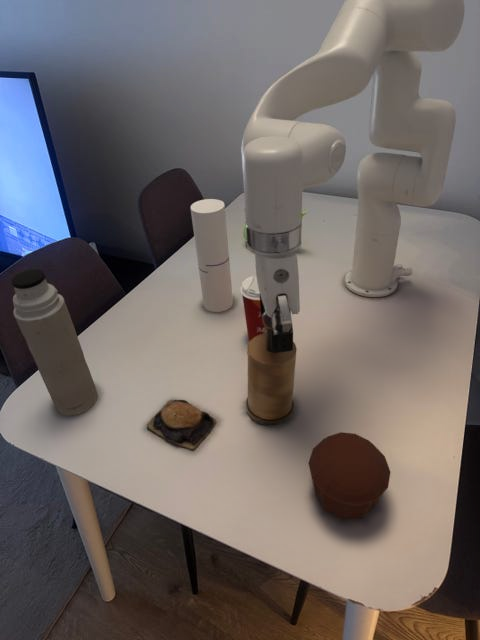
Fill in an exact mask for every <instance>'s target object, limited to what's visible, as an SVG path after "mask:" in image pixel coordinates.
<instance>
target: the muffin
mask: <svg viewBox="0 0 480 640" xmlns="http://www.w3.org/2000/svg"><path fill="white" fill-rule="evenodd" d="M308 468H309V472H310V473H309V474H310V477H311V480H312V485H313V489H314V494H315V497H316V498H317V499H318V501H319V502H320V504H321V506H322V508H323V510H324V512H325V513H327V514H330V515H332V516H334V517H337V518H338V519H339V520H341V521H347V520H362V519H363V518H364V517H365V516H366V515H367V513H368V512H370V511H371V510H372V509H373V508H375V506H376V505H377V503H378V501H379V499H380V498H381V496H382V495H383V494H384V493H385V492H386V491H387V489H388V488H389V484H390V477H391V470H390V469H391V468H390V467H389V464H388V461H387V459H386V456H385V455H384V454H383V452H382V451H380V449H379V448H378V447H376V446H375V444H374V443H372V442H371V441H370V439H367V438H365V437H363V436H361V435H359V434H356V433H351V432H337V433H334V434H330V435H327V436H326V437H325V438H323V439H322V440H321V441H319V442H318V443H317V444H316V445H315V446H314V447H313V448H312V450H311V453H310V456H309V460H308Z"/></svg>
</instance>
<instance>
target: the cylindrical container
mask: <svg viewBox="0 0 480 640" xmlns="http://www.w3.org/2000/svg"><path fill="white" fill-rule="evenodd" d="M190 214H191V221H192V230H193V237H194V245H195V252H196V258H197V268H198V274H199V282H200V290H201V296H202V297H201V298H202V304H203V307H204V309H205V310H206V311H208V312H210V313H211V312H212V313H223V312H225V311H228V310H229V309H231V308H232V307H233V304H234V298H233V297H234V296H233V286H232V277H231V276H232V274H231V263H230V253H229V239H228V228H227V227H228V226H227V217H226V205H225V202H224V201H223V200H220V199H216V198H204V199H201V200H197V201H195V202H193V203H191V205H190Z"/></svg>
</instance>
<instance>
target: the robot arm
mask: <svg viewBox="0 0 480 640" xmlns="http://www.w3.org/2000/svg"><path fill="white" fill-rule="evenodd" d="M464 18H465V0H344V2H343V4H342V5H341V7H340V10H339V12H338V13H337V14H336V17H335V19H334V21H333V23H332V24H331V27H330V29H329V31H328V33H327V34H326V37H325V38H324V40H323V42H322V43H321V46H320V48H319V49H318V51H317V53H316V54H314V55H313V56H311V57H309V58H307V59H306V60H304V61H303V62H301V63H299V64H298V65H296V66H295V67H294V68H292V69H291V70H290V71H288V72H287V73H286V74H284V75H283V76H281V77H280V78H279V79H277V80H276V81H275V82H273V83H272V84H271V85H270V87H268V89H266V91H265V92H264V94H262V96H261V98H260V99H259V100H258V103H257V105H256V107H255V108H254V110H253V111H252V113H251V116H250V117H249V120H248V122H247V124H246V126H245V129H244V131H243V135H242V139H241V144H240V153H241V168H242V184H243V200H244V202H243V203H244V216H245V217H244V219H245V221H246V236H247V241H246V247H247V248H248V250H249V251H251V253H254V259H255V260H254V261H255V275H256V276H257V283H258V288H259V292H260V312H261V315H263V314H264V312H265V311H266V314H267V315H268V316H269V317H271V319H272V327H273V331H271V349H272V352H273V353H280V352H287V351H292V350H293V342H294V326H293V320H292V315H298V314H299V313H300V311H301V310H300V309H301V305H300V303H301V302H300V276H299V264H298V254H297V251H298V250H299V249H300V247H301V245H302V227H303V218H302V211H303V192H304V191H305V190H308V189H310V188H312V187H313V188H314V187H316V186H319V185H322V184H324V183H327V182H328V181H330V180H331V179H333V178H334V177H335V176H336V174H337V173H338V172H339V171H340V170H341V168H342V166H343V164H344V161H345V157H346V152H347V146H346V140H345V137H344V135H343V134H342V133H341V131H340V130H338V129H337V128H335V127H334V126H331V125H329V124H323V123H316V122H306V121H300V120H296V119H298V118H299V117H302V116H303V115H304V114H307V113H309V112H312V111H315V110H318V109H321V108H326V107H329V106H333V105H335V104H339V103H341V102H344V101H347V100H349V99H352V98H355V97H356V96H358V95H359V94H361V93H363V91H364V90H365V89H366V88H367V87H368V86H369V83H370V81H371V79H372V85H371V86H372V87H371V88H372V89H371V99H370V108H369V120H368V137H369V141H370V143H371V144H372V145H373V146H376V147H378V148H382V149H387V150H395V151H404V152H411V153H418V154H420V156H414V155H407V154H401V153H394V152H393V153H392V152H374V153H370V154H368V155H366V156H364V157H363V158H362V159H361V161H360V163H359V164H358V167H357V170H356V189H357V217H356V226H355V227H356V228H355V237H354V248H353V257H352V268H351V270H349V271H348V272H347V273H346V274H345V276H344V286H345V287H346V288H347V289H348V290H349V291H350V292H352V293H354V294H355V295H359V296H362V297H366V298H380V297H386V296H389V295H391V294H393V293H395V291H396V290H397V289H398V283H399V280H398V279H400V277H409V276H412V275H413V269H412V267H403V264H402V263H399V264H395V261H396V254H397V248H398V243H399V235H400V229H401V223H402V216H401V212H400V208H399V207H398V204H401V205H408V206H413V207H418V208H419V207H420V208H428V207H431V206H433V205H435V204H436V203H437V202H438V200H439V199H440V197H441V195H442V192H443V188H444V184H445V180H446V175H447V170H448V165H449V160H450V156H451V150H452V145H453V141H454V134H455V129H456V119H457V118H456V117H457V115H456V110H455V107H454V105H453V104H452V103H451V102H449V101H447V100H445V99H438V98H427V97H426V98H425V97H420V94H419V92H420V91H419V90H420V85H421V77H422V63H421V60H420V57H419V55H418V53H417V52H428V53H437V52H438V53H439V52H444V51H447V50H448V49H449V48H451V46H452V45H453V44H454V43H455V41H456V40H457V38H459V37H458V36H459V35H460V32H461V30H462V28H463V27H462V26H463V24H464ZM276 308H277V309H279V312H276V313H274V311H275V309H276ZM276 317H281V324H280V325H278V326H277V322H276Z"/></svg>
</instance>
